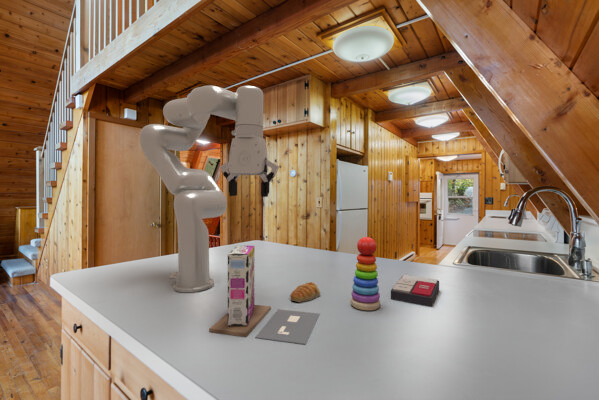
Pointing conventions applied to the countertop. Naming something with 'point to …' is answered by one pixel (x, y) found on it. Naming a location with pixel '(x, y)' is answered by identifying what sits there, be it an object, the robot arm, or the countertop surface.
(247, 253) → the candy bar box
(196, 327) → the countertop surface
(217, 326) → the walnut board
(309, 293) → the pastry
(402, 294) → the dark flat boxy piece
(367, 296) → the stacking toy
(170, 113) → the robot arm
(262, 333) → the tile
